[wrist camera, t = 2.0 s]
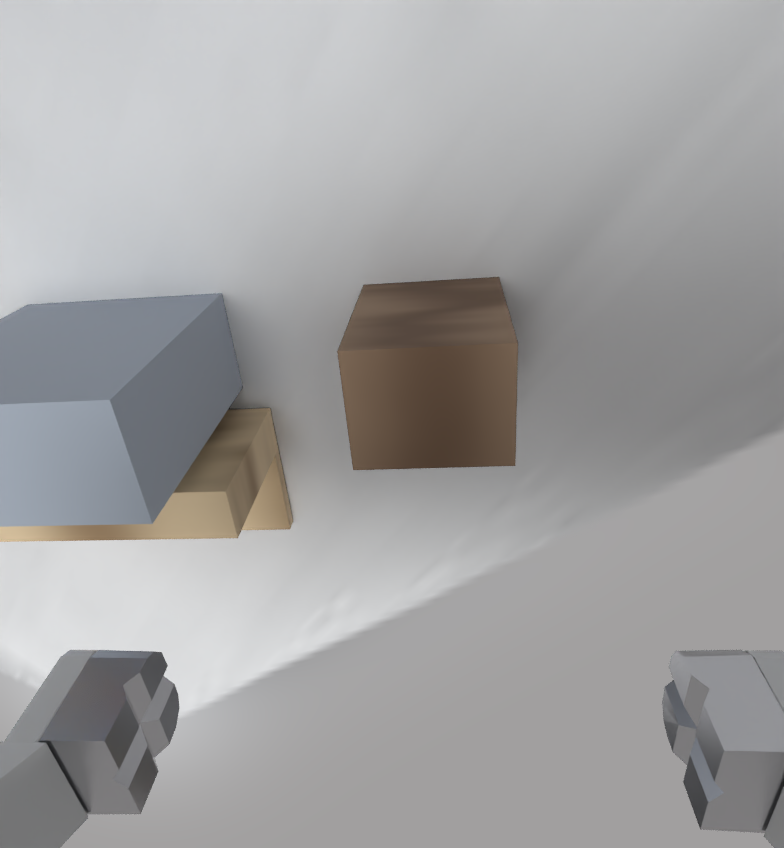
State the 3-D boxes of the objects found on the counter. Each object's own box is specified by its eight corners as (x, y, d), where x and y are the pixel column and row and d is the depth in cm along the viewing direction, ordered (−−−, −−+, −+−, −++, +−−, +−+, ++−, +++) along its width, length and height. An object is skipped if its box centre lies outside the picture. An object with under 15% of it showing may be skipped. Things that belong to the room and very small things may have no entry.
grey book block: (222, 293, 23) (109, 399, 15) (242, 386, 25) (152, 523, 17) (28, 304, 24) (-173, 411, 16) (62, 394, 26) (-101, 528, 18)
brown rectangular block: (498, 276, 22) (517, 342, 17) (498, 376, 24) (515, 465, 18) (363, 284, 23) (337, 351, 17) (373, 381, 25) (353, 469, 19)
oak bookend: (270, 407, 26) (225, 491, 20) (292, 520, 28) (258, 619, 23) (48, 416, 27) (-49, 498, 21) (92, 524, 29) (16, 619, 24)
